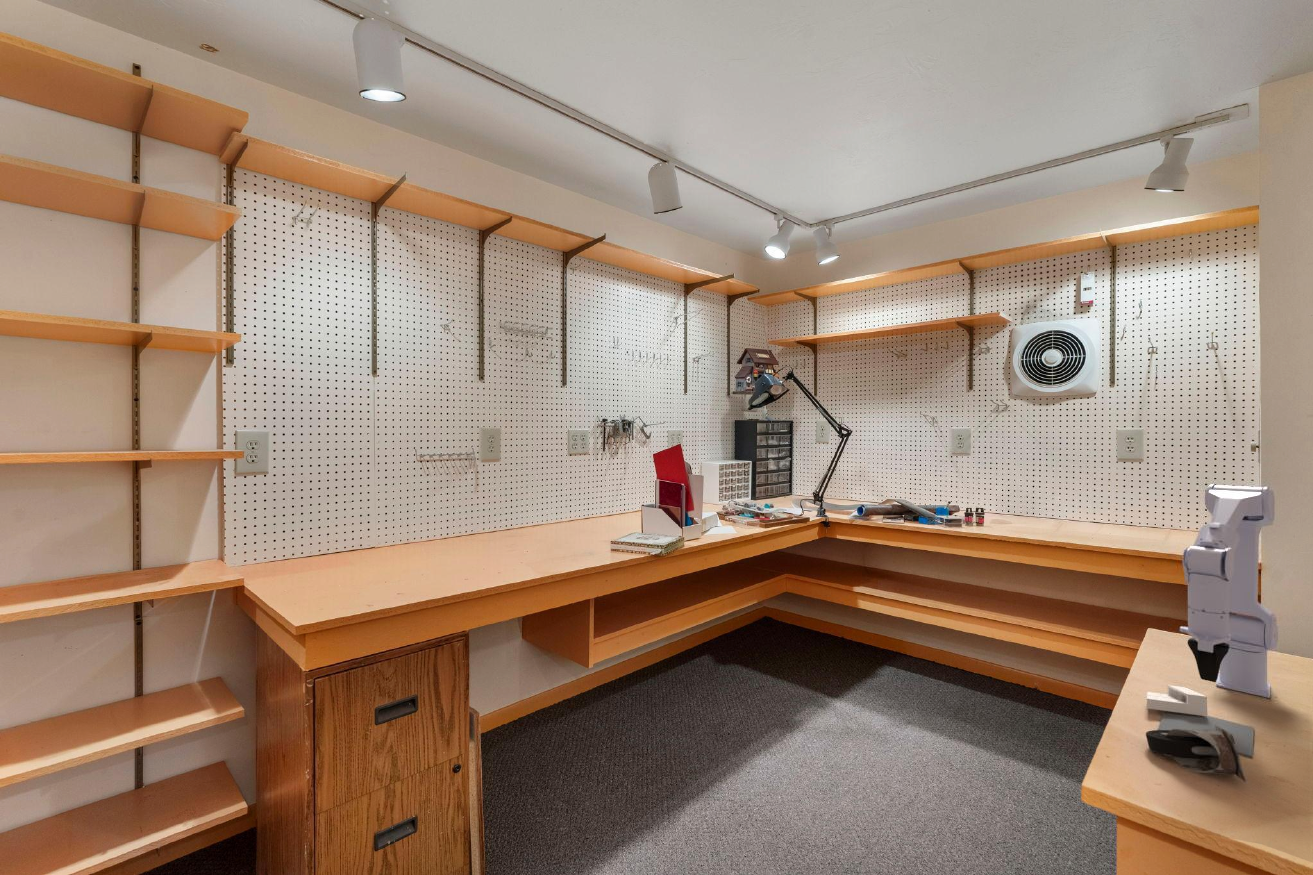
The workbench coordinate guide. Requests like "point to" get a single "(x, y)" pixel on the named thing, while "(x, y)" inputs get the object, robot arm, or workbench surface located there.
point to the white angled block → (1178, 701)
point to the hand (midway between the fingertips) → (1208, 679)
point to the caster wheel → (1199, 749)
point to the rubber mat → (1211, 728)
